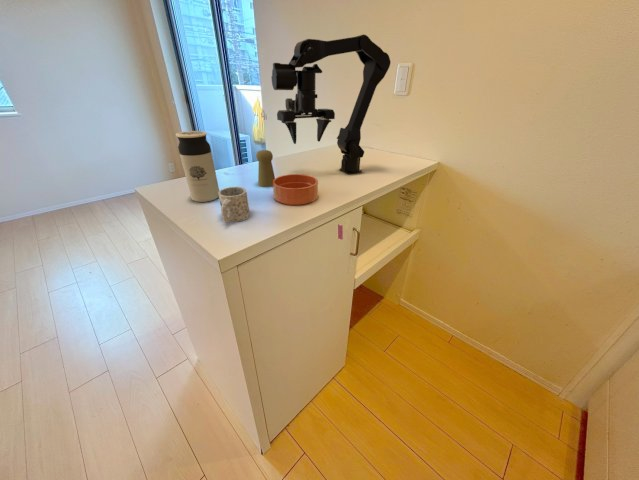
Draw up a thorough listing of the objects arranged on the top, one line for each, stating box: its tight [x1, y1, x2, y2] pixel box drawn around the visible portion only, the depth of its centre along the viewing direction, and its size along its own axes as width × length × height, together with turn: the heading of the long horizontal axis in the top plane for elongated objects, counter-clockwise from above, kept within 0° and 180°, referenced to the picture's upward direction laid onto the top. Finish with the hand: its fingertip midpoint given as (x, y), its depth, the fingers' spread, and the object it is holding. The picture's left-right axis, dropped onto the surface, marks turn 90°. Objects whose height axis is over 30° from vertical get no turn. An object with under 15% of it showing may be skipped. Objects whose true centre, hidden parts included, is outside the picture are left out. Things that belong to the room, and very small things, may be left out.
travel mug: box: [175, 130, 220, 203], centre depth 72 cm, size 8×8×18 cm
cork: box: [255, 149, 276, 188], centre depth 85 cm, size 6×6×11 cm
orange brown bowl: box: [272, 173, 319, 206], centre depth 77 cm, size 13×13×5 cm
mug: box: [218, 186, 251, 224], centre depth 64 cm, size 10×7×7 cm, turn 174°
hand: (306, 142), depth 89 cm, fingers open, 9 cm apart
